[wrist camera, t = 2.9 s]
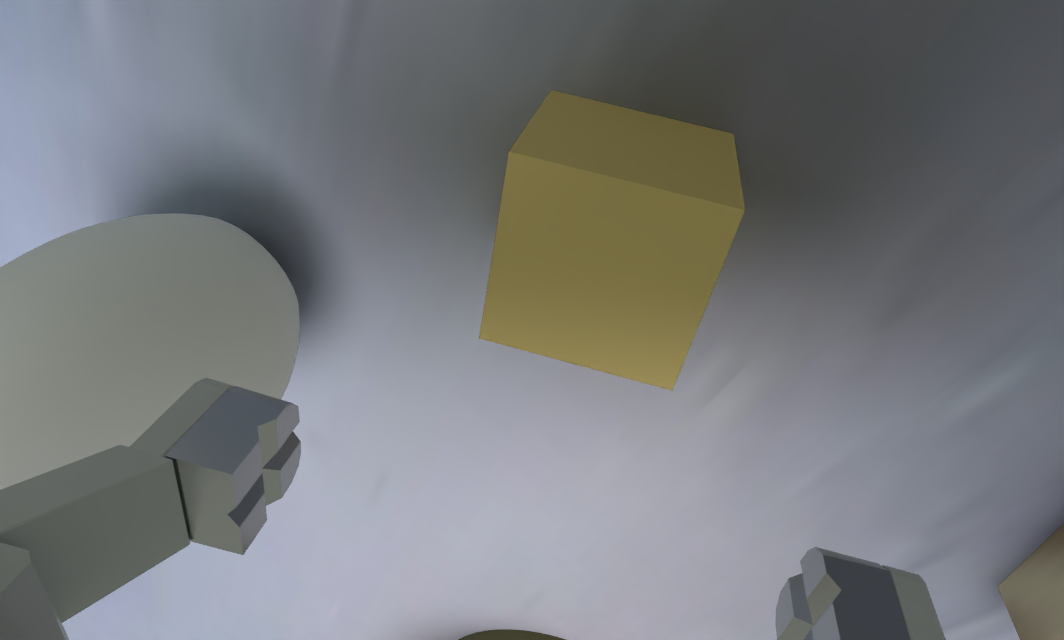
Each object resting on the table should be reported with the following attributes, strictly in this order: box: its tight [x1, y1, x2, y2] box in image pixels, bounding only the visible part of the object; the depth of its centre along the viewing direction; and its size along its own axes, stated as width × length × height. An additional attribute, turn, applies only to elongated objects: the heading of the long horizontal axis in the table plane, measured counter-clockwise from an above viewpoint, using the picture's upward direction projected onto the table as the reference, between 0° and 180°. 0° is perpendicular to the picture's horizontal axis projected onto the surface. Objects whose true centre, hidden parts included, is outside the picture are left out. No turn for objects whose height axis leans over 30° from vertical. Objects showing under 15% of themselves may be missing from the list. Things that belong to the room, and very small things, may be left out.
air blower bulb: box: [0, 214, 300, 490], centre depth 16 cm, size 8×8×18 cm
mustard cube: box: [479, 90, 745, 390], centre depth 17 cm, size 5×5×5 cm
